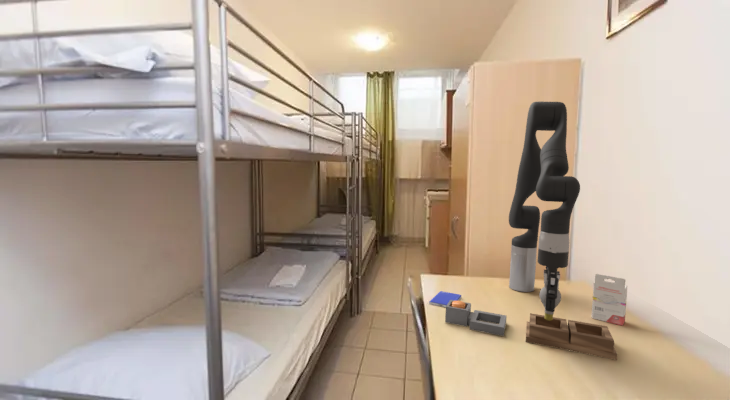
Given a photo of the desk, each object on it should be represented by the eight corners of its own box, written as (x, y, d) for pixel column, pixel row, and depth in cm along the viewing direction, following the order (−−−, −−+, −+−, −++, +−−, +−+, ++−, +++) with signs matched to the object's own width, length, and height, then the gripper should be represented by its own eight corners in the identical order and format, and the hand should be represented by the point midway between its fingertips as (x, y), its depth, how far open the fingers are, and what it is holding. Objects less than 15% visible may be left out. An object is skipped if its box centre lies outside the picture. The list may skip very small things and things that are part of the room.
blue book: (439, 290, 137) (428, 301, 127) (461, 294, 133) (452, 305, 123) (439, 294, 137) (428, 305, 127) (461, 298, 133) (452, 310, 123)
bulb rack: (526, 326, 110) (527, 311, 110) (608, 341, 101) (610, 325, 101) (525, 341, 100) (526, 326, 100) (616, 360, 91) (618, 342, 91)
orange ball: (453, 310, 116) (453, 299, 115) (465, 312, 114) (466, 301, 114) (450, 314, 112) (450, 303, 112) (463, 317, 110) (464, 306, 110)
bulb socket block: (450, 313, 119) (451, 298, 118) (506, 323, 112) (506, 307, 111) (444, 324, 110) (444, 308, 110) (503, 336, 103) (504, 319, 103)
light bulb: (562, 325, 99) (564, 290, 98) (540, 323, 100) (543, 288, 99) (555, 317, 104) (558, 284, 103) (535, 316, 105) (537, 282, 105)
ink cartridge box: (625, 321, 115) (629, 276, 113) (622, 326, 111) (626, 279, 110) (593, 313, 121) (597, 270, 119) (590, 318, 117) (594, 273, 116)
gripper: (538, 242, 108) (534, 297, 110) (538, 251, 95) (534, 314, 97) (566, 244, 105) (562, 301, 107) (571, 255, 92) (566, 319, 94)
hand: (549, 307), depth 102 cm, fingers closed on light bulb, 5 cm apart
